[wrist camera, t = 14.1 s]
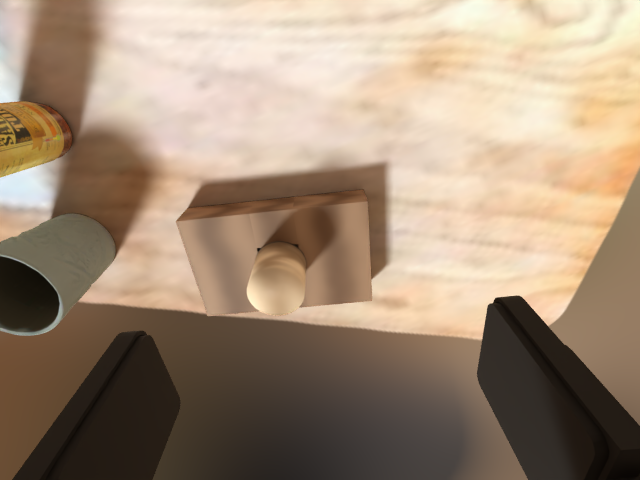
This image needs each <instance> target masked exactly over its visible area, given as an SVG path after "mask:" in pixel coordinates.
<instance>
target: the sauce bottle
mask: <svg viewBox="0 0 640 480" xmlns="http://www.w3.org/2000/svg"><path fill="white" fill-rule="evenodd" d="M71 145H72V133H71V130H70V128H69V126H68V124H67V123H66V121H65V120H64V119H63V118H62V116H61V115H60V114H58V112H57V111H55V110H53V109H52V108H51V107H49V106H46V105H43V104H38V103H32V102H25V101H20V102H9V103H0V177H3V176H6V175H9V174H13V173H16V172H19V171H22V170H25V169H28V168H31V167H35V166H38V165H41V164H44V163H47V162H50V161H52V160H55V159H56V158H59V157H61V156H63V155H64V154H65V153H67V151H68V150H69V149H70V147H71Z"/></svg>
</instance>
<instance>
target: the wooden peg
mask: <svg viewBox="0 0 640 480" xmlns="http://www.w3.org/2000/svg"><path fill="white" fill-rule="evenodd" d="M305 278H306V258H305V256H304V254H303V252H302V251H301V250H300V249H299V248H298V247H297V245H296V244H291V243H289V242H284V241H275V242H271V243H268V244H266V245H265V246H263V247H262V248H261V249H260V250H259V252H258V253H257V255H256V259H255V263H254V266H253V269H252V272H251V276H250V279H249V282H248V286H247V296H248V299H249V301H250V303H251V304H252V305H253V306H254V307H255V308H256V309H257V310H259V311H261V312H263V313H265V314H268V315H274V316H281V315H286V314H289V313H292V312H293V311H295V310H296V309H298V308H299V307H300V305H301V304H302V302H303V300H304V297H305Z"/></svg>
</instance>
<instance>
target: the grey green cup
mask: <svg viewBox="0 0 640 480" xmlns="http://www.w3.org/2000/svg"><path fill="white" fill-rule="evenodd" d="M115 253H116V247H115V243H114V240H113V238H112V236H111V235H110V233H109V232H108V231H107V230H106V228H105V227H103V226H102V225H101V224H100V223H98V222H97V221H95V220H94V219H92V218H89V217H87V216H84V215H80V214H64V215H60V216H57V217H55V218H53V219H50V220H48V221H46V222H43V223H41V224H40V225H39V226H37V227H35V228H33V229H30V230H28V231H26V232H22V233H21V234H20V235H19V236H17V237H11V238H8V239H6V240H4V241H1V242H0V331H4V332H8V333H11V334H16V335H27V336H28V335H38V334H42V333H45V332H48V331H49V330H51V329H53V328H54V327H55V326H56V325H57V324H58V323H59V322H60V321H61V320H62V319H63V318H64V316H65V315H66V314H67V313H68V312H69V311H70V309H71V308H72V307H73V306H74V304H75V303H77V301H78V300H79V299H80V298H81V297H82V296H83V295H84V294H85V293H86V292H87V290H88V289H89V288H90V287H91V284H93V283H94V282H95V281H96V280H97V279H98V278H99V277H100V276H101V274H102V273H103V272H104V271H105V270H106V269H107V268H108V267H109V266H110V264H111V263H112V262H113V260H114V257H115Z"/></svg>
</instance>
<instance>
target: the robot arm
mask: <svg viewBox="0 0 640 480" xmlns="http://www.w3.org/2000/svg"><path fill="white" fill-rule="evenodd" d="M477 377H478V381H479V384H480V386H481V389H482V390H483V392H484V394H485V396H486V398H487V400H488V402H489V404H490V406H491V408H492V410H493V412H494V414H495V416H496V418H497V419H498V421H499V424H500V426H501V427H502V429H503V431H504V433H505V435H506V437H507V439H508V441H509V443H510V445H511V447H512V449H513V451H514V453H515V455H516V457H517V459H518V461H519V463H520V465H521V466H522V468H523V470H524V472H525V474H526V476H527V478H528V480H640V426H639V425H638V424H637V422H636V421H635V420H634V419H633V418H632V417H631V416H630V415H629V413H628V412H627V411H626V410H625V409H624V408H623V407H622V406H621V405H620V404H619V402H618V401H617V400H616V399H615V398H614V397H613V396H612V394H611V393H610V392H609V391H608V390H607V389H606V388H605V387H604V386H603V384H602V383H601V382H600V381H599V380H598V379H597V378H596V377H595V375H594V374H593V373H592V372H591V371H590V370H589V369H588V368H587V367H586V365H585V364H584V363H583V362H582V361H581V360H580V359H579V358H578V357H577V355H576V354H575V353H574V352H573V351H572V350H571V349H570V348H569V347H568V346H566V345H564V344H563V343H562V342H561V341H560V340H559V339H558V337H557V336H556V335H555V334H554V333H553V332H552V330H550V328H549V327H548V326H547V325H546V324H545V322H544V321H543V320H542V319H541V318H540V317H539V316H538V315H537V313H536V312H535V311H534V310H533V309H532V308H531V307H530V306H529V304H528V303H527V302H526V301H525V300H524V299H523V298H522V297H521V296H508V297H498V298H495V300H494V302H493V303H492V304H489V305H488V308H487V314H486V320H485V327H484V333H483V339H482V345H481V352H480V358H479V364H478V371H477ZM179 409H180V397H179V395H178V393H177V391H176V388H175V386H174V384H173V382H172V380H171V377H170V375H169V373H168V371H167V369H166V366H165V364H164V362H163V360H162V358H161V356H160V354H159V351H158V349H157V347H156V344H155V342H154V340H153V338H152V337H151V336H150V335H147V334H146V332H144V331H131V332H122V333H120V334H118V336H116V338H115V339H114V341H113V342H112V343H111V344H110V346H109V347H108V349H107V350H106V352H105V353H104V354H103V355H102V357H101V358H100V360H99V361H98V362H97V364H96V365H95V366H94V368H93V369H92V371H91V372H90V373H89V375H88V376H87V378H86V379H85V380H84V382H83V383H82V384H81V386H80V387H79V389H78V390H77V392H76V393H75V394H74V395H73V397H72V398H71V400H70V401H69V402H68V404H67V405H66V406H65V408H64V410H63V411H62V412H61V413H60V415H59V416H58V417H57V419H56V420H55V422H54V423H53V425H52V426H51V427H50V428H49V430H48V431H47V433H46V434H45V435H44V437H43V438H42V439H41V441H40V442H39V444H38V445H37V446H36V448H35V449H34V450H33V452H32V453H31V455H30V456H29V458H28V459H27V460H26V461H25V463H24V464H23V466H22V467H21V469H20V470H19V471H18V473H17V474H16V475H15V477H14V478H13V479H12V480H152V479H153V476H154V474H155V471H156V469H157V466H158V464H159V461H160V459H161V456H162V453H163V451H164V448H165V445H166V443H167V441H168V437H169V436H170V433H171V430H172V428H173V425H174V423H175V420H176V418H177V415H178V412H179Z"/></svg>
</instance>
